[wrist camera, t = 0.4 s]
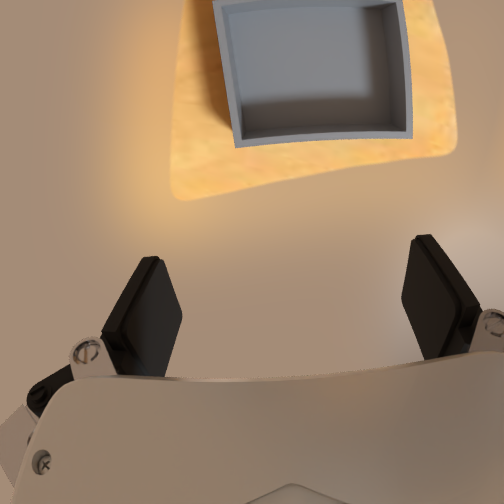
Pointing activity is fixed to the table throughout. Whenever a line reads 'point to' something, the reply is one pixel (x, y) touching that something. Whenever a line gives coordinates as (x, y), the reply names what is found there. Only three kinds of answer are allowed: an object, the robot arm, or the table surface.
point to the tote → (315, 70)
